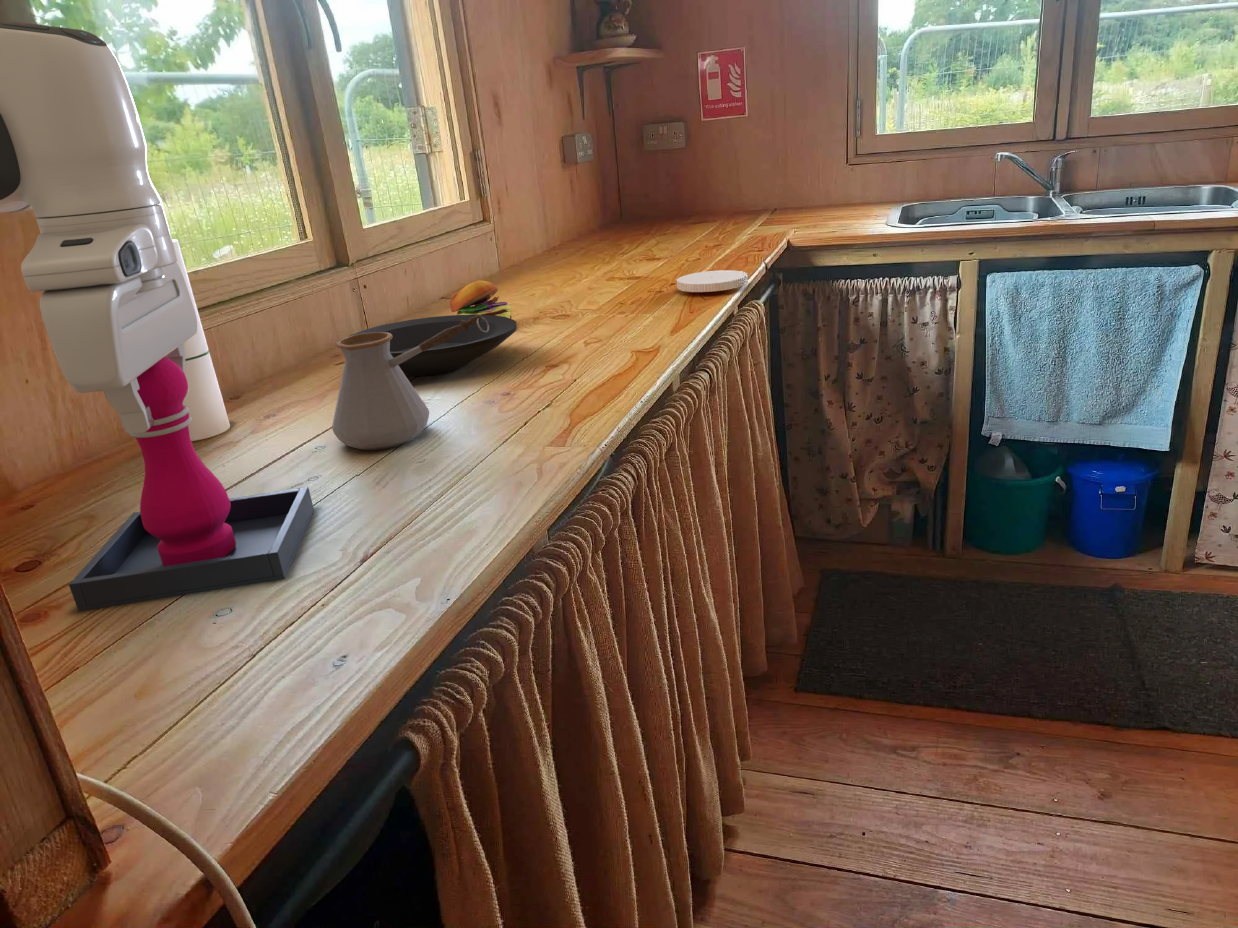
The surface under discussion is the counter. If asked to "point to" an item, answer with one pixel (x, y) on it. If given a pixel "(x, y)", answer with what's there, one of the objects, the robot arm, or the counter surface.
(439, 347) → the black bowl
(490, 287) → the cheeseburger
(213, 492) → the pepper mill
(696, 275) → the plastic lid
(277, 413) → the counter surface
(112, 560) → the tray
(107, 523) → the counter surface
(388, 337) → the coffee pot
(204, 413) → the cylindrical container
